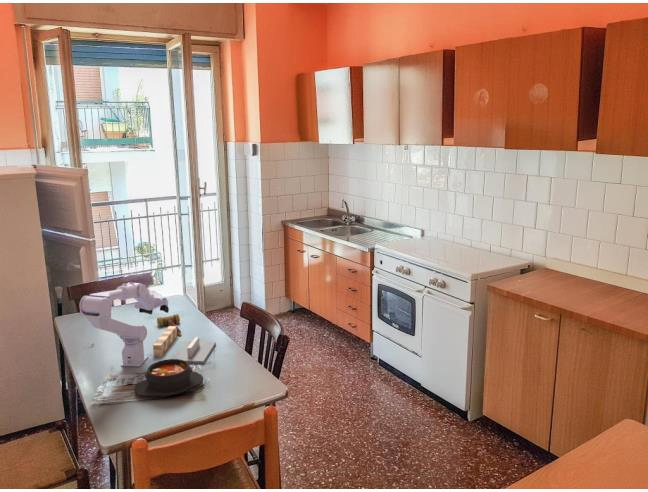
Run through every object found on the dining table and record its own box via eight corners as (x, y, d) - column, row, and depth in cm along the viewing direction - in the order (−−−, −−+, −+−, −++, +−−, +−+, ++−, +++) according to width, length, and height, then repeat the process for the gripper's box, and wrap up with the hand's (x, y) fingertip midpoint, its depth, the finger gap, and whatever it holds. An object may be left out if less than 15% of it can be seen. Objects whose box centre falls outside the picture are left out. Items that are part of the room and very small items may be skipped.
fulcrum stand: (203, 363, 222) (203, 352, 220) (170, 362, 222) (169, 351, 221) (215, 344, 241) (215, 334, 240) (185, 343, 242) (184, 333, 241)
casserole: (196, 371, 215) (195, 351, 213) (209, 391, 199) (208, 370, 197) (131, 384, 204) (129, 364, 202) (138, 407, 188) (137, 384, 186)
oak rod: (161, 356, 230) (161, 345, 228) (153, 356, 230) (153, 345, 229) (177, 336, 251) (176, 326, 250) (169, 336, 251) (168, 326, 250)
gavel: (190, 328, 252) (169, 332, 247) (191, 337, 253) (169, 341, 248) (176, 312, 269) (156, 316, 264) (177, 321, 270) (157, 324, 265)
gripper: (162, 288, 230) (176, 301, 242) (131, 292, 232) (145, 304, 244) (160, 303, 226) (174, 316, 238) (128, 307, 228) (143, 319, 240)
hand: (159, 311), depth 241 cm, fingers open, 7 cm apart
